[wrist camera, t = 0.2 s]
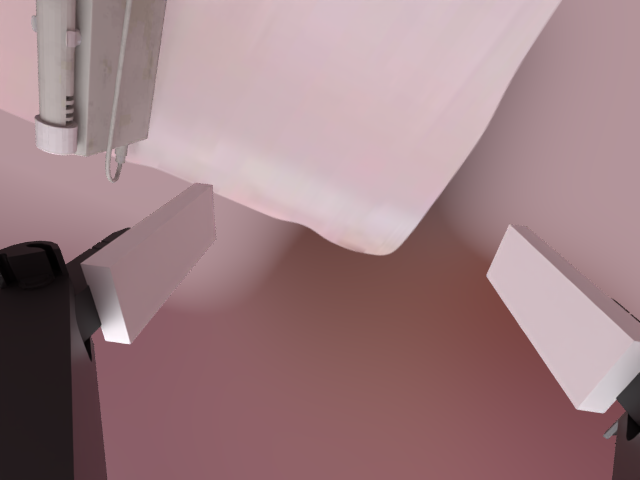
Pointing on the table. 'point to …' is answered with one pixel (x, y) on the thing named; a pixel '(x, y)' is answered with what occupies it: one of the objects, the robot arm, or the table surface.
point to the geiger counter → (96, 74)
